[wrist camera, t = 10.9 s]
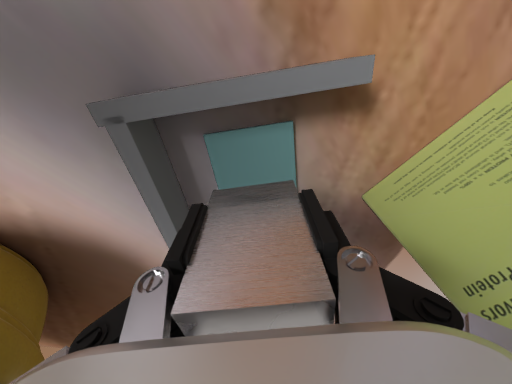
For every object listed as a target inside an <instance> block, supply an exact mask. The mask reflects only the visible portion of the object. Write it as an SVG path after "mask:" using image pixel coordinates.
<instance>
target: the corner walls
mask: <svg viewBox="0 0 512 384" xmlns="http://www.w3.org/2000/svg"><path fill="white" fill-rule="evenodd" d="M374 60H375V55H367V56H359V57H351V58H345V59H339V60H333V61H327V62H321V63H316V64H310V65H304V66H298V67H292V68H286V69H281V70H275V71H269V72H263V73H257V74H252V75H246V76H240V77H234V78H228V79H223V80H217V81H211V82H205V83H199V84H193V85H188V86H182V87H176V88H170V89H164V90H159V91H153V92H147V93H141V94H135V95H130V96H124V97H118V98H113V99H108V100H104V101H99V102H94V103H89V104H86V106H87V108H88V109H89V111H90V113H91V115H92V117H93V119H94V121H95V122H96V124H97V126H98V127H103V126H105V127H106V129H107V131H108V133H109V135H110V137H111V139H112V141H113V142H114V144H115V146H116V148H117V150H118V152H119V154H120V156H121V158H122V160H123V162H124V163H125V165H126V167H127V169H128V171H129V173H130V175H131V177H132V179H133V181H134V182H135V184H136V186H137V188H138V190H139V192H140V194H141V196H142V198H143V200H144V202H145V203H146V205H147V207H148V209H149V211H150V213H151V215H152V217H153V219H154V221H155V223H156V224H157V226H158V228H159V230H160V232H161V234H162V236H163V238H164V240H165V242H166V243H167V245H168V247H169V249H170V247H171V245H172V243H173V241H174V239H175V237H176V234H177V232H178V231H179V230H180V229H181V227H182V225H183V223H184V221H185V219H186V217H187V215H188V212H189V208H188V206H187V203H186V200H185V198H184V195H183V193H182V190H181V188H180V185H179V183H178V180H177V178H176V175H175V173H174V170H173V168H172V165H171V163H170V160H169V158H168V155H167V152H166V150H165V147H164V145H163V142H162V140H161V137H160V135H159V132H158V130H157V127H156V125H155V122H154V120H153V118H158V117H164V116H170V115H177V114H183V113H189V112H195V111H201V110H207V109H213V108H219V107H225V106H232V105H238V104H244V103H250V102H256V101H262V100H268V99H274V98H281V97H287V96H293V95H299V94H305V93H311V92H317V91H323V90H330V89H336V88H342V87H348V86H354V85H360V84H366V83H372V75H373V68H374Z"/></svg>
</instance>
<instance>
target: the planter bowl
mask: <svg viewBox="0 0 512 384" xmlns="http://www.w3.org/2000/svg"><path fill="white" fill-rule="evenodd" d="M47 306H48V291H47V288H46V285H45V284H44V282H43V279H42V277H41V275H40V274H39V272H38V271H37V269H36V268H35V267H34V266H33V265H32V264H31V263H29V262H28V261H27V260H26V259H25V258H23V257H22V256H20V255H19V254H17V253H16V252H14V251H12V250H11V249H9V248H7V247H5V246H3V245H1V244H0V384H9V383H10V382H12V381H13V380H15V379H16V378H18V377H19V376H21V375H22V374H24V373H25V372H27V371H29V370H30V369H32V368H33V367H35V366H36V365H38V364H39V363H41V362H42V361H44V360H45V359H44V357H43V355H42V353H41V350H40V346H39V341H40V338H41V334H42V331H43V327H44V323H45V318H46V313H47Z"/></svg>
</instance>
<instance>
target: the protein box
mask: <svg viewBox="0 0 512 384" xmlns="http://www.w3.org/2000/svg"><path fill="white" fill-rule="evenodd" d="M362 199H363V200H364V201H365V202H366V204H367V205H368V206H369V207H370V208H371V210H372V211H373V212H374V213H375V214H376V216H377V217H378V218H379V219H380V220H381V221H382V222H383V224H384V225H385V226H386V227H387V228H388V229H389V230H390V232H391V233H392V234H393V235H394V236H395V237H396V239H397V240H398V241H399V242H400V243H401V244H402V245H403V247H404V248H405V249H406V250H407V251H408V252H409V254H410V255H411V256H412V257H413V258H414V259H415V261H416V262H417V263H418V264H419V265H420V267H421V268H422V269H423V270H424V271H425V272H426V274H427V275H428V276H429V277H430V278H431V279H432V281H433V282H434V283H435V284H436V285H437V286H438V288H439V289H440V290H441V291H442V292H443V294H444V295H445V296H446V297H447V298H448V299H449V301H450V302H451V303H452V304H453V305H454V306H455V307H456V308H457V309H458V310H459V312H462V313H464V314H467V313H468V312H470V313H473V314H475V315H477V316H480V317H482V318H485V319H487V320H490V321H492V322H495V323H497V324H499V325H502V326H504V327H507V328H509V329H512V80H511V81H510V82H508V83H507V84H506V85H504V86H503V87H502V88H501V89H499V90H498V91H497V92H495V93H494V94H493V95H492V96H490V97H489V98H488V99H486V100H485V101H484V102H483V103H481V104H480V105H479V106H477V107H476V108H475V109H474V110H472V111H471V112H470V113H468V114H467V115H466V116H465V117H463V118H462V119H461V120H459V121H458V122H457V123H455V124H454V125H453V126H451V127H450V128H449V129H448V130H446V131H445V132H444V133H442V134H441V135H440V136H439V137H437V138H436V139H435V140H434V141H432V142H431V143H430V144H428V145H427V146H426V147H424V148H423V149H422V150H421V151H419V152H418V153H417V154H415V155H414V156H413V157H412V158H410V159H409V160H408V161H406V162H405V163H404V164H403V165H401V166H400V167H399V168H397V169H396V170H395V171H394V172H392V173H391V174H390V175H388V176H387V177H386V178H384V179H383V180H382V181H381V182H379V183H378V184H377V185H375V186H374V187H373V188H372V189H370V190H369V191H368V192H366V193H365V194H364V195H363V196H362Z"/></svg>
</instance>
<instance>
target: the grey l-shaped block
mask: <svg viewBox="0 0 512 384" xmlns="http://www.w3.org/2000/svg"><path fill="white" fill-rule="evenodd" d="M335 303H336V298H335V295H334V293H333V290H332V287H331V284H330V281H329V279H328V276H327V273H326V270H325V267H324V265H323V262H322V259H321V256H320V253H319V251H318V250H317V248H316V246H315V243H314V240H313V237H312V234H311V231H310V229H309V226H308V223H307V220H306V217H305V214H304V211H303V209H302V206H301V203H300V200H299V197H298V192H297V189H296V186H295V184H294V181H293V180H289V181H281V182H274V183H266V184H259V185H251V186H244V187H236V188H229V189H221V190H214V191H213V193H212V195H211V198H210V201H209V204H208V209H207V212H206V215H205V218H204V221H203V224H202V227H201V230H200V233H199V236H198V239H197V241H196V244H195V247H194V250H193V253H192V256H191V259H190V262H189V264H188V265H187V268H186V271H185V274H184V276H183V279H182V282H181V285H180V288H179V291H178V294H177V297H176V300H175V303H174V305H173V308H172V311H171V314H170V315H171V316H172V318H173V319H174V320H175V322H176V323H177V325H178V326H179V328H180V329H181V331H182V332H183V334H184V335H185V337H187V336H198V335H209V334H221V333H233V332H244V331H256V330H268V329H280V328H293V327H306V326H318V325H331V324H334V314H335Z"/></svg>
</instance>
